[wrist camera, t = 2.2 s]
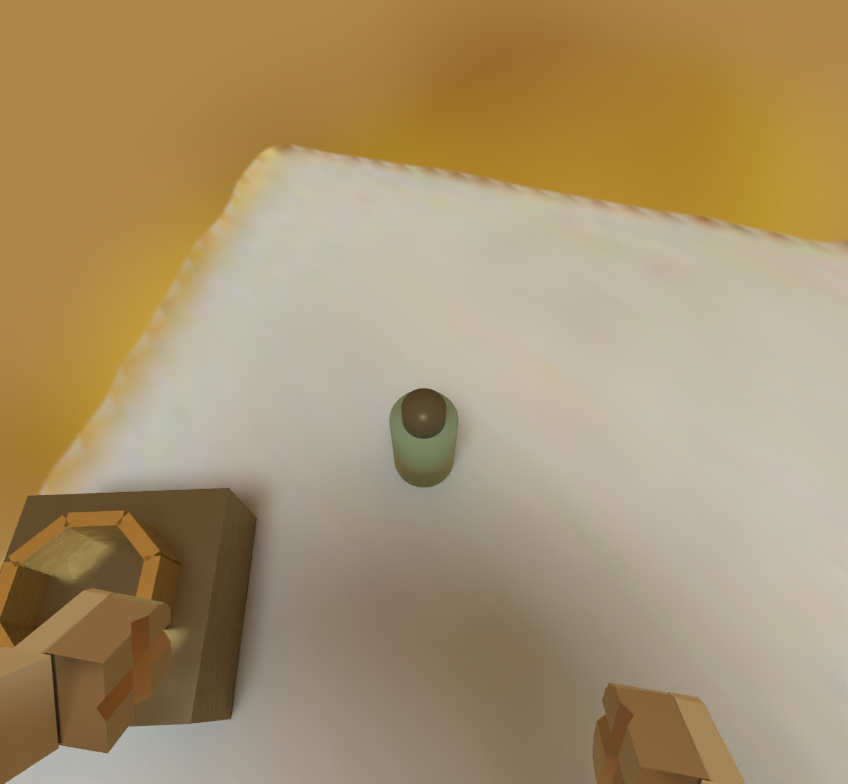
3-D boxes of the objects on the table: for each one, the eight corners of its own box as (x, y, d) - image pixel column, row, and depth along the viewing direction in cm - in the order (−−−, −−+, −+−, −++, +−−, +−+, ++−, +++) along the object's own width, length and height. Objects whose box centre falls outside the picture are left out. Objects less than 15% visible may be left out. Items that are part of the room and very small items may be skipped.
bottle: (455, 486, 37) (462, 438, 31) (395, 488, 37) (388, 441, 31) (451, 431, 40) (456, 376, 33) (394, 434, 40) (388, 378, 33)
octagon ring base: (230, 718, 30) (168, 726, 23) (23, 728, 30) (-107, 739, 23) (256, 517, 36) (214, 472, 29) (84, 524, 36) (-2, 480, 29)
